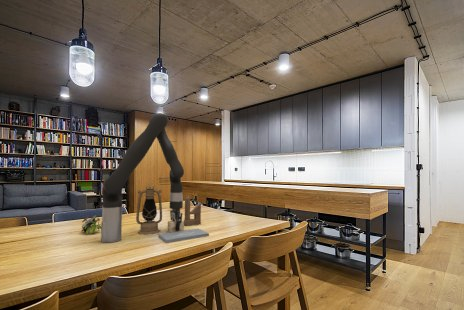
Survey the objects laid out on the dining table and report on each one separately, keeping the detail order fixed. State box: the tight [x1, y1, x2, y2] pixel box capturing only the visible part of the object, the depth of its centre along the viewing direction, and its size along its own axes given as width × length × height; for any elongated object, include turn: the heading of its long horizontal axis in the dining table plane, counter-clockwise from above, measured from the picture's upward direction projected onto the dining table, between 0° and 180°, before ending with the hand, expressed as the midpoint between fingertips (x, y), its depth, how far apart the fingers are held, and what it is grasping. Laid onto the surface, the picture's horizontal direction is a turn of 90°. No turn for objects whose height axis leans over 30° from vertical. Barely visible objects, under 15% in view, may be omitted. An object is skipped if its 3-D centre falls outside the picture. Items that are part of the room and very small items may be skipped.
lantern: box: [135, 184, 163, 235], centre depth 144 cm, size 14×12×30 cm
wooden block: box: [183, 197, 202, 227], centre depth 163 cm, size 4×11×18 cm, turn 119°
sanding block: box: [167, 220, 185, 233], centre depth 143 cm, size 8×5×6 cm, turn 124°
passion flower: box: [80, 215, 101, 236], centre depth 142 cm, size 11×11×12 cm
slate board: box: [157, 228, 210, 244], centre depth 133 cm, size 24×13×2 cm, turn 124°
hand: (175, 229), depth 143 cm, fingers closed on sanding block, 5 cm apart
